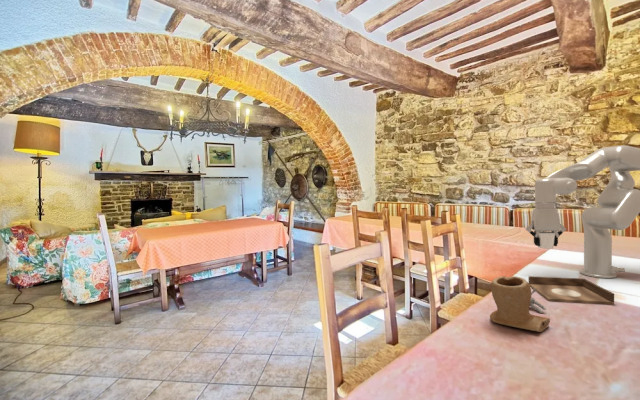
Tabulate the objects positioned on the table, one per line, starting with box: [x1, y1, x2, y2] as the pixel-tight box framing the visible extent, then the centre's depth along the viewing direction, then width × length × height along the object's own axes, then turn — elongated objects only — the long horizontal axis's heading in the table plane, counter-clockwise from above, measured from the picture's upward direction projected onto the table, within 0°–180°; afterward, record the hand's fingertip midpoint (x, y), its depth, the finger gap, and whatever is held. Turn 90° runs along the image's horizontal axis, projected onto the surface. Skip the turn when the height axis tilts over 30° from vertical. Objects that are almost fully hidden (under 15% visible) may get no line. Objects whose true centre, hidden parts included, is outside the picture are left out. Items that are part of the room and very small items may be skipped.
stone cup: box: [489, 275, 551, 333], centre depth 93 cm, size 15×12×15 cm
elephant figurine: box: [529, 288, 547, 314], centre depth 105 cm, size 10×6×9 cm
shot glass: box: [537, 231, 555, 250], centre depth 137 cm, size 7×7×7 cm
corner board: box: [528, 276, 615, 306], centre depth 118 cm, size 20×18×4 cm
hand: (545, 245), depth 137 cm, fingers closed on shot glass, 6 cm apart
